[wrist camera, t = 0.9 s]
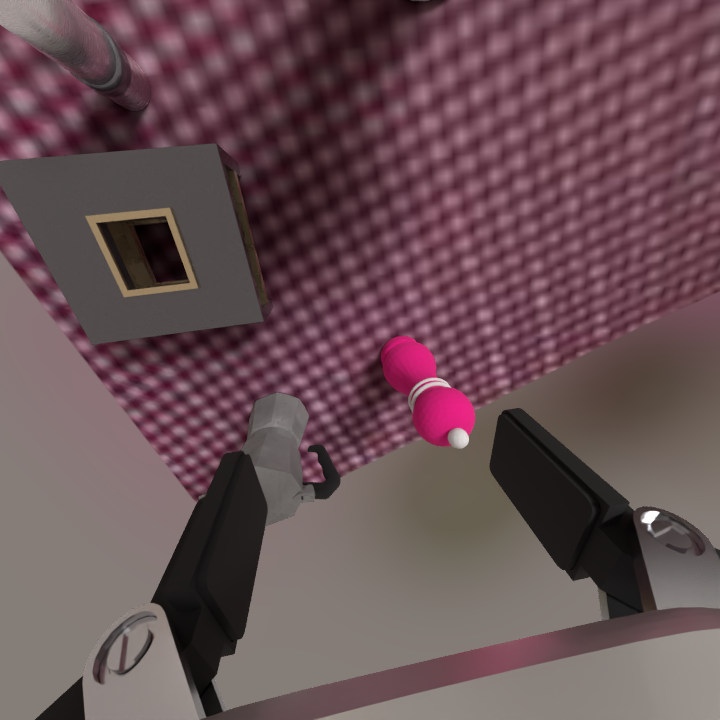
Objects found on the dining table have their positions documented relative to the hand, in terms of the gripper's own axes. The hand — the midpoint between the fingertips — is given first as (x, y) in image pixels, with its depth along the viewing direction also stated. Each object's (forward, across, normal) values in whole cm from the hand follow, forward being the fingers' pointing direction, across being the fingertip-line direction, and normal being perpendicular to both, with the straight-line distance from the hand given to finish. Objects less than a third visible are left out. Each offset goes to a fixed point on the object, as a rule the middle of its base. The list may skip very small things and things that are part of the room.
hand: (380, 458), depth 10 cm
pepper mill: (+29, -9, +10) cm, 32 cm away
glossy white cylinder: (+29, +18, -22) cm, 41 cm away
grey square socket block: (+29, +18, -7) cm, 35 cm away
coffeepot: (+29, +10, +18) cm, 36 cm away
